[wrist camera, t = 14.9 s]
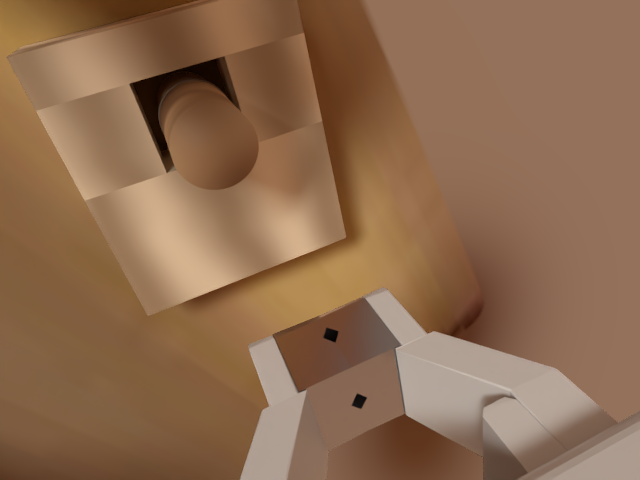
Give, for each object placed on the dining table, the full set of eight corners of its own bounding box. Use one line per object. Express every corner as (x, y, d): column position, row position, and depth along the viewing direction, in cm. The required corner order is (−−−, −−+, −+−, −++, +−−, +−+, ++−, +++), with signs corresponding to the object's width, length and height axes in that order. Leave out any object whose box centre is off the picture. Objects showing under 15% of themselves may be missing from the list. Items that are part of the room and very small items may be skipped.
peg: (167, 140, 29) (188, 203, 21) (142, 77, 27) (154, 119, 19) (227, 121, 30) (269, 174, 22) (207, 58, 28) (245, 91, 20)
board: (144, 282, 33) (147, 316, 30) (21, 46, 24) (6, 57, 21) (325, 214, 36) (346, 237, 33) (271, -19, 27) (293, -19, 24)
